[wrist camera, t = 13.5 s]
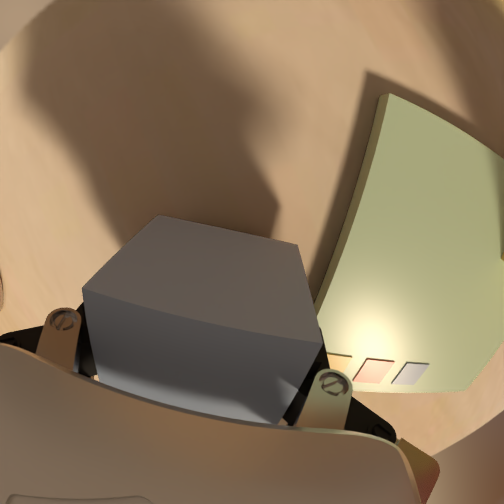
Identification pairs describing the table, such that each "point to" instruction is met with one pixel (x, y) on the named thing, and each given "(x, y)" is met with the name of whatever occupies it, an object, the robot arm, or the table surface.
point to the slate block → (204, 320)
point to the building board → (417, 259)
